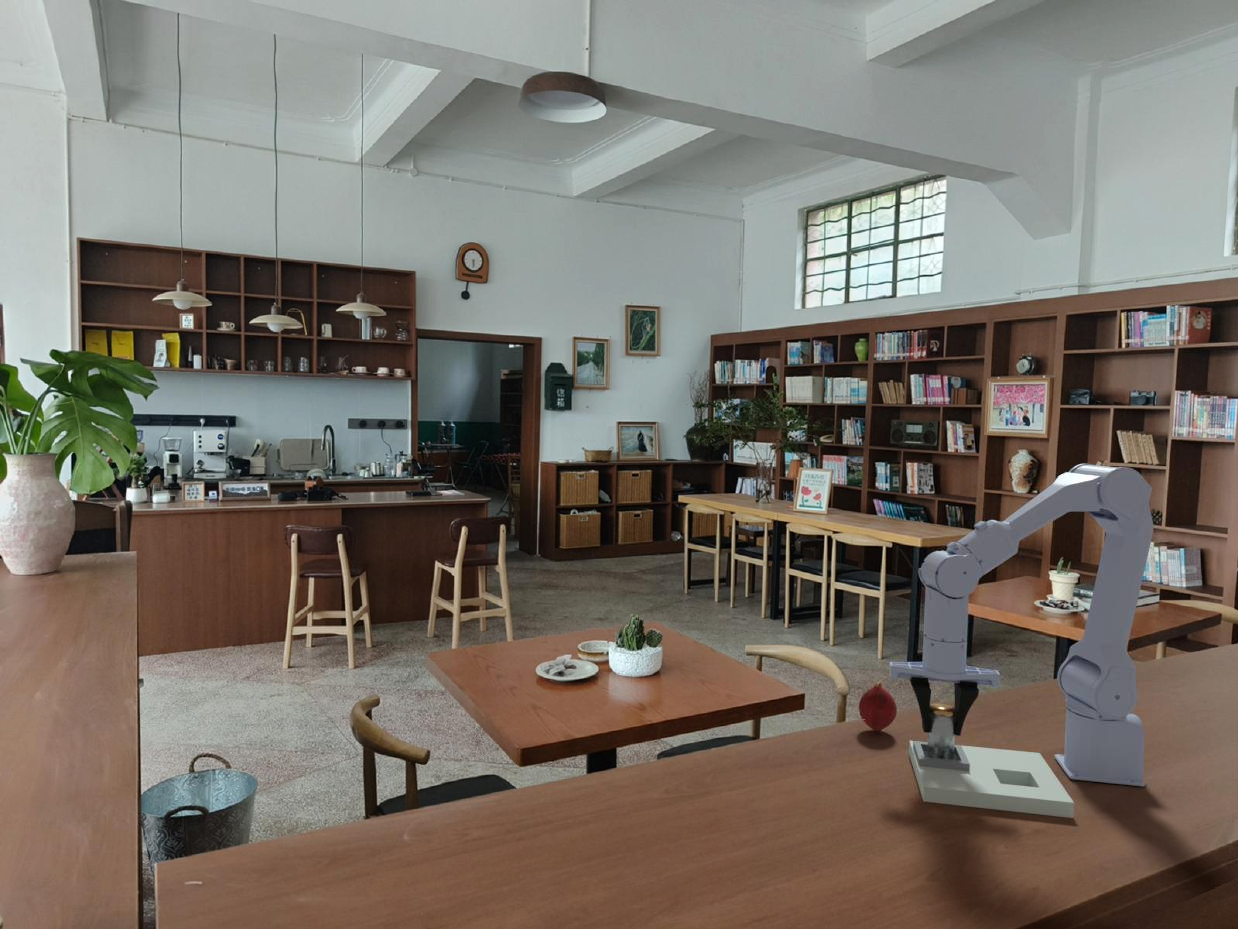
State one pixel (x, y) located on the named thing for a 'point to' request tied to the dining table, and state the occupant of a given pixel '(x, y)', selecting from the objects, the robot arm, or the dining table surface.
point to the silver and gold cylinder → (941, 731)
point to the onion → (877, 708)
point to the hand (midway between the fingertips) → (941, 731)
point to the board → (990, 780)
